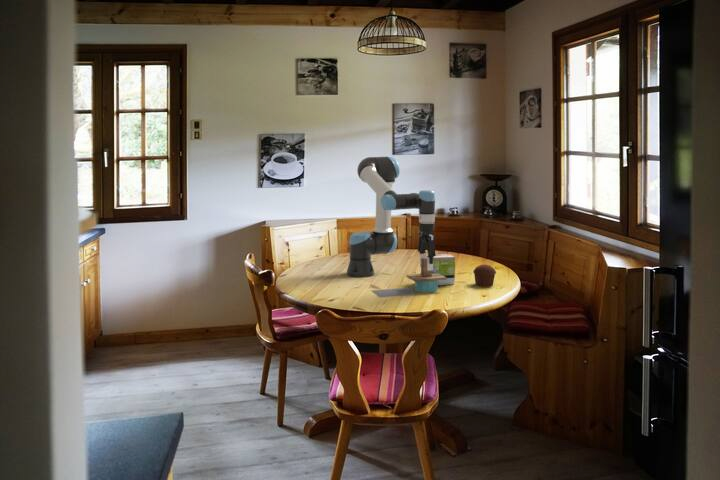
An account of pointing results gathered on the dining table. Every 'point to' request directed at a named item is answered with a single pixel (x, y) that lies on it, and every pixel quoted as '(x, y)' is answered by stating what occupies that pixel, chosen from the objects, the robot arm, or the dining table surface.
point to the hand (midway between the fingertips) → (426, 268)
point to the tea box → (444, 268)
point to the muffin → (484, 275)
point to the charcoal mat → (394, 292)
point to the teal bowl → (426, 286)
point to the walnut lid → (425, 274)
